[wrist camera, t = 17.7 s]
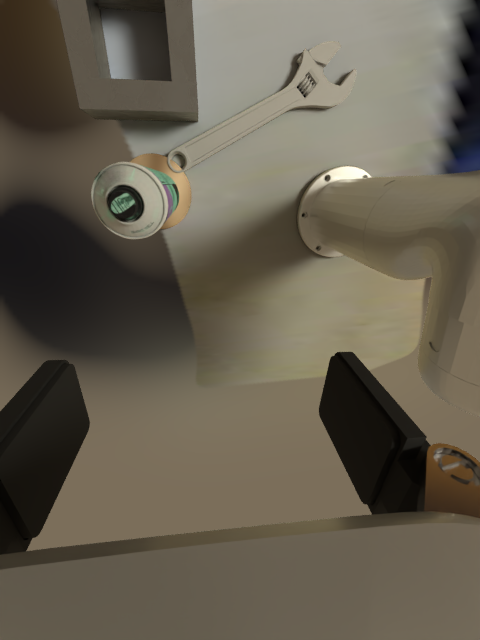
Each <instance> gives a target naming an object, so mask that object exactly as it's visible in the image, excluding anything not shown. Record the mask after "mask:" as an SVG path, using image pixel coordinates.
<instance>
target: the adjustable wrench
mask: <svg viewBox="0 0 480 640" xmlns="http://www.w3.org/2000/svg"><path fill="white" fill-rule="evenodd" d="M340 47H341V45H340V43H339V42H335V41H328V42H324V43H321V44H319V45H317V46H315V47H314V48H312V49H311V50H310V51H309V52H308V51H307V50H306V48H305V49H304V51H303V52H302V54H301V56H300V57H299V58H298V60H297V61H296V62H297V63H298V65H299V67H298V69H297V71H296V74H295V76H294V78H293V80H292V81H291V83H290V84H289V85H288V86H287V87H286V88H284V89H283V90H281V91H279V92H278V93H276V94H274V95H272V96H270V97H268V98H267V99H265V100H263V101H261V102H259V103H258V104H256V105H254V106H252V107H250V108H248V109H247V110H245V111H243V112H241V113H239V114H238V115H236V116H234V117H232V118H230V119H228V120H227V121H225V122H223V123H221V124H219V125H218V126H216V127H214V128H212V129H210V130H208V131H207V132H205V133H203V134H201V135H199V136H198V137H196V138H194V139H192V140H190V141H188V142H187V143H185V144H183V145H181V146H179V147H178V148H176V149H174V150H172V151H171V152H170V153H169V155H168V164H169V167H170V168H171V169H172V170H173V171H174V172H177V173H181V172H185V171H186V170H188V169H190V168H192V167H193V166H195V165H197V164H198V163H200V162H202V161H203V160H205V159H207V158H209V157H210V156H212V155H214V154H215V153H217V152H219V151H220V150H222V149H224V148H226V147H227V146H229V145H231V144H232V143H234V142H236V141H237V140H239V139H241V138H243V137H244V136H246V135H248V134H249V133H251V132H253V131H254V130H256V129H258V128H260V127H261V126H263V125H265V124H266V123H268V122H270V121H271V120H273V119H275V118H277V117H278V116H280V115H282V114H283V113H285V112H287V111H289V110H292V109H297V108H323V109H328V108H332V107H334V106H336V105H338V104H340V103H341V102H342V101H343V100H344V99H345V98H346V97H347V96H348V95H349V93H350V92H351V90H352V88H353V86H354V83H355V79H356V74H357V73H356V69H353V70H352V71H351V72H350V73H349V74H348V75H347V76H346V78H345V79H344V80H343V81H342V83H341V84H340V85H335V84H332V83H329V81H328V80H327V78H326V77H325V75H324V74H323V68H324V67H325V66H326V65H327V64H328V63H329V61H330V60H331V59H332V57H333V56H334V55H335V54H336V52H337V51H338V50H339V48H340ZM305 75H306V76H305ZM307 78H308V79H307ZM297 86H299V88H298V89H297ZM299 89H301V91H299ZM301 92H303V94H301ZM304 94H305V98H304V96H303V95H304ZM176 154H180V155H182V156H183V157H184V159H185V165H184V167H183V168H181V169H182V170H180V171H177V170H175V169H174V168H173V167H172V166H171V164H170V159H171V160H172V158H173V156H174V155H176Z"/></svg>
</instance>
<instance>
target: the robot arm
mask: <svg viewBox="0 0 480 640" xmlns="http://www.w3.org/2000/svg"><path fill="white" fill-rule="evenodd" d="M325 176H326V180H325V179H324V178H325ZM362 177H363V178H362ZM303 213H304V216H303V217H302V214H303ZM297 223H298V229H299V233H300V236H301V238H302V240H303V241H304V243H305V244H306V246H307V247H309V248H310V249H311V250H312V251H314V252H315V253H317V254H319V255H322V256H326V257H340V256H344V255H346V256H348V257H350V258H352V259H354V260H356V261H358V262H360V263H362V264H364V265H366V266H368V267H370V268H372V269H375V270H377V271H379V272H381V273H383V274H386V275H388V276H390V277H393V278H396V279H401V280H418V279H424V278H428V277H431V276H432V282H431V288H430V293H429V303H428V308H427V313H426V318H425V323H424V328H423V332H422V338H421V342H420V347H419V354H418V368H419V372H420V375H421V378H422V380H423V381H424V383H425V384H426V386H427V387H428V388H429V389H430V390H431V391H432V392H433V393H434V394H435V395H437V396H438V397H439V398H441V399H442V400H444V401H445V402H447V403H448V404H450V405H452V406H454V407H456V408H458V409H460V410H462V411H465V412H467V413H469V414H472V415H475V416H477V417H480V170H478V171H472V172H465V173H455V174H442V175H422V176H396V177H372V176H371V175H370V174H369V173H367V172H366V171H365V170H363V169H361V168H358V167H355V166H339V167H335V168H332V169H329V170H327V171H325V172H323V173H322V174H321V175H319V176H318V177H317V178H316V179H315V180H314V181H313V182H312V183H311V184H310V185H309V186H308V188H307V189H306V191H305V192H304V194H303V197H302V199H301V201H300V205H299V208H298V215H297ZM317 246H318V248H316V247H317ZM319 415H320V418H321V420H322V422H323V424H324V426H325V428H326V430H327V432H328V434H329V436H330V438H331V440H332V442H333V444H334V446H335V448H336V451H337V453H338V455H339V457H340V459H341V461H342V463H343V465H344V467H345V469H346V471H347V473H348V475H349V477H350V479H351V481H352V483H353V485H354V487H355V489H356V491H357V493H358V495H359V497H360V499H361V501H362V502H363V503H364V504H367V505H368V507H369V509H370V511H371V513H372V515H362V516H350V517H340V518H331V519H320V520H311V521H300V522H291V523H281V524H270V525H261V526H252V527H241V528H232V529H223V530H212V531H204V532H194V533H184V534H175V535H166V536H156V537H147V538H138V539H129V540H120V541H111V542H102V543H93V544H84V545H75V546H66V547H57V548H49V549H41V550H33V551H26V550H27V548H28V546H29V544H30V542H31V540H32V538H34V537H36V536H38V535H39V533H40V532H41V530H42V528H43V526H44V524H45V522H46V519H47V517H48V515H49V513H50V511H51V509H52V507H53V504H54V502H55V500H56V498H57V496H58V494H59V492H60V490H61V487H62V485H63V483H64V481H65V479H66V477H67V475H68V473H69V471H70V469H71V466H72V464H73V462H74V460H75V458H76V456H77V454H78V451H79V449H80V447H81V445H82V443H83V441H84V439H85V437H86V435H87V432H88V430H89V424H90V422H89V417H88V414H87V410H86V406H85V403H84V399H83V396H82V392H81V389H80V385H79V381H78V378H77V374H76V371H75V367H74V365H73V364H69V362H68V361H66V360H48V361H46V362H44V363H43V364H42V366H41V367H40V368H39V369H38V370H37V371H36V372H35V374H33V376H32V377H31V378H30V379H29V380H28V381H27V382H26V383H25V385H24V386H23V387H22V388H21V389H20V390H19V391H18V392H17V393H16V395H15V396H14V397H13V398H12V399H11V400H10V401H9V403H8V404H7V405H6V406H5V407H4V408H3V409H2V410H1V411H0V640H480V462H479V461H478V460H477V459H476V458H475V457H473V456H472V455H470V454H469V453H467V452H466V451H464V450H462V449H460V448H458V447H455V446H452V445H449V444H444V443H436V444H432V445H430V444H429V443H428V442H427V441H426V440H425V439H426V436H425V435H424V433H423V432H422V431H421V430H420V429H419V428H418V426H417V425H416V424H415V423H414V422H413V421H412V420H411V419H410V417H409V416H408V415H407V414H406V413H405V412H404V410H403V409H402V408H401V407H400V406H399V405H398V404H397V402H396V401H395V400H394V399H393V398H392V397H391V396H390V394H389V393H388V392H387V391H386V390H385V389H384V387H383V386H382V385H381V384H380V383H379V382H378V381H377V380H376V378H375V377H374V376H373V375H372V374H371V373H370V371H369V370H368V369H367V368H366V367H365V366H364V364H363V363H362V362H361V361H360V360H359V359H358V358H357V356H356V355H355V354H354V353H353V352H337V353H336V354H335V356H332V357H331V359H330V362H329V367H328V371H327V375H326V380H325V385H324V388H323V393H322V397H321V402H320V406H319Z"/></svg>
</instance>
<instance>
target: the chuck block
mask: <svg viewBox="0 0 480 640" xmlns="http://www.w3.org/2000/svg"><path fill="white" fill-rule="evenodd" d="M56 1H57V6H58V10H59V15H60V20H61V24H62V29H63V33H64V38H65V43H66V48H67V52H68V57H69V62H70V66H71V70H72V75H73V80H74V85H75V90H76V94H77V99H78V104H79V108H80V109H81V110H83V111H84V112H85V113H87V114H89V115H90V116H92V117H93V118H95V119H113V120H152V121H192V122H198V100H197V82H196V65H195V48H194V30H193V13H192V0H56ZM99 8H110V9H124V10H137V11H151V12H165V13H166V22H167V33H168V44H169V55H170V66H171V78H172V81H153V80H129V79H111V75H110V69H109V63H108V57H107V51H106V45H105V39H104V33H103V27H102V21H101V15H100V9H99Z"/></svg>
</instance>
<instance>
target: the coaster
mask: <svg viewBox="0 0 480 640" xmlns="http://www.w3.org/2000/svg"><path fill="white" fill-rule="evenodd" d="M130 162H131V163H135V164H139V165H142V166H145V167H148V168H151V169H154V170H157V171H160V172H163V173H165V174H167V175H168V176H170V177H171V178H172V179H173V181H174V182H175V183H176V185H177V187H178V191H179V203H178V206H177V208H176V210H175V211H174V212H173V213H172V214H171V216H170V217H169V218H168V219H167V221H166V222H165V223H164V224H163V225H162V227H161V228H160V229H166V228H170V227H173V226H175V225H176V224H178V223H179V222H180V221H181V220H182V219H183V218H184V217H185V216H186V214H187V212H188V210H189V207H190V203H191V188H190V184H189V181H188V179H187V177H186V175H185V173H184V172H181V173H177V172H174V171H173V170H172V169H171V168H170V167H169V164H168V158H167V157H165V156H162V155H159V154H143V155H140V156H138V157H136V158H134V159H133V160H132V161H130ZM170 164H171V166H172V167H173V168H174V169H175V170H177V171H180V170H182V169H181V168H180V167H179V166H178V165H177V164H176V163H175V162H174V161H172V160H171V159H170Z"/></svg>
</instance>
